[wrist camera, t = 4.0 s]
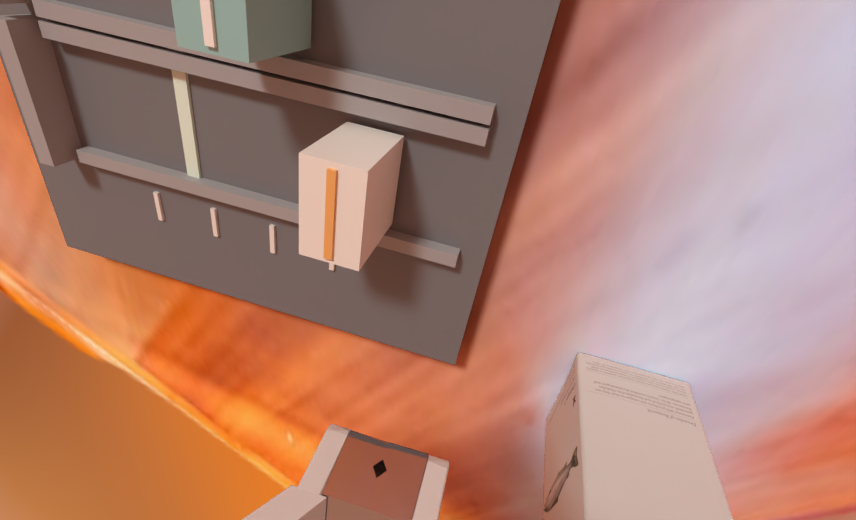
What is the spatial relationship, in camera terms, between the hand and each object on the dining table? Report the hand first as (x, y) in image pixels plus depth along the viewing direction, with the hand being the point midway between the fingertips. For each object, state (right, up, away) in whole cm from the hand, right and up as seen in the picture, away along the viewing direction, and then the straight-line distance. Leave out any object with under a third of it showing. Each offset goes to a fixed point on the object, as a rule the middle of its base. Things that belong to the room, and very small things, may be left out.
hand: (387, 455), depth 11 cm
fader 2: (-2, +9, +12) cm, 16 cm away
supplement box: (+14, -5, +20) cm, 25 cm away
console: (-9, +13, +15) cm, 22 cm away
